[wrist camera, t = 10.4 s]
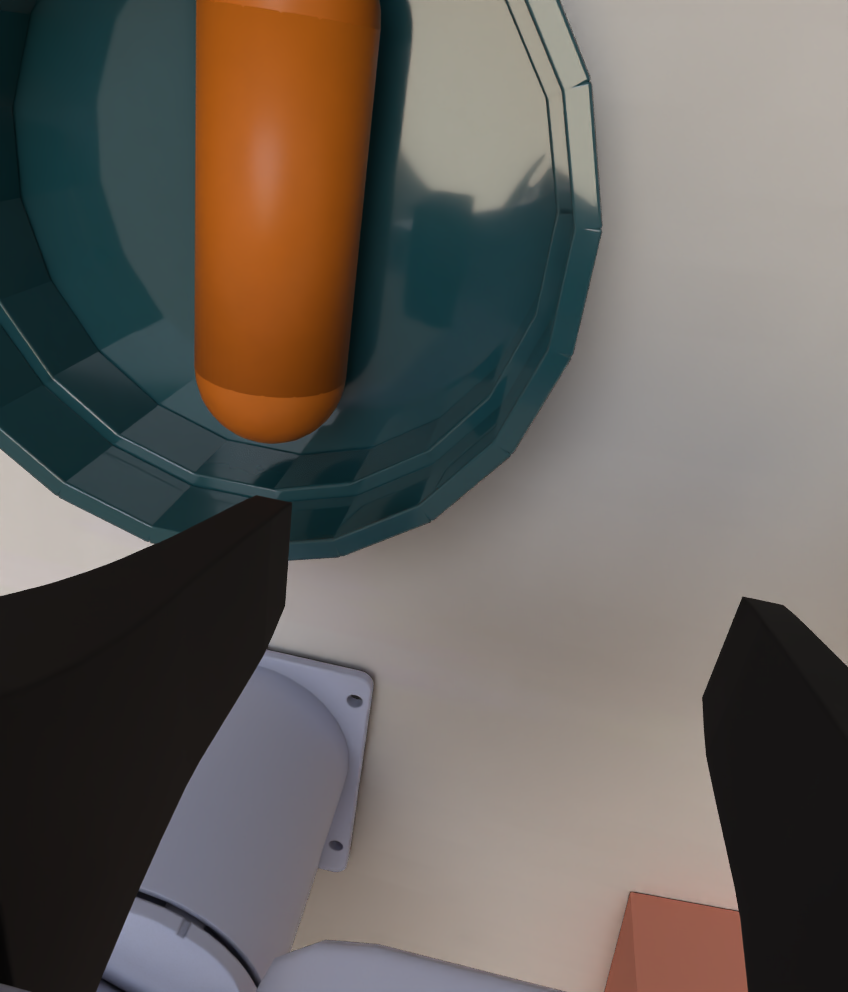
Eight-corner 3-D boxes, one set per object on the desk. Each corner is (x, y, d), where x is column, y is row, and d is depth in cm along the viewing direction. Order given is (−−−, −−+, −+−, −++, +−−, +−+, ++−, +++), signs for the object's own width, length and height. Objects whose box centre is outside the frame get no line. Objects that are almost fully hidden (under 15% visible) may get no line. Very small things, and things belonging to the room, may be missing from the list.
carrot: (328, 410, 22) (350, 470, 19) (193, 406, 21) (194, 468, 18) (371, -66, 17) (410, -87, 14) (196, -102, 16) (196, -133, 13)
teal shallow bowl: (522, 518, 23) (510, 622, 18) (26, 416, 24) (-98, 490, 19) (673, -143, 16) (712, -235, 11) (-40, -238, 17) (-257, -354, 12)
